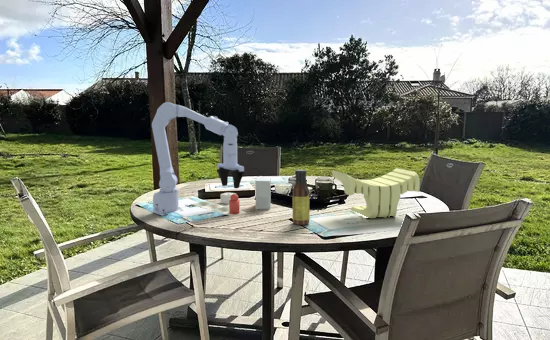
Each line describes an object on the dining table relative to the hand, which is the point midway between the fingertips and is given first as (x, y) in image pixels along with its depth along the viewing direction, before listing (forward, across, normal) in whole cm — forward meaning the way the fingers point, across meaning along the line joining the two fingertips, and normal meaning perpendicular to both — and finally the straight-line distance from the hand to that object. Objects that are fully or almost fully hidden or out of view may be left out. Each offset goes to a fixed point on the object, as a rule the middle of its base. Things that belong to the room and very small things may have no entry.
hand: (230, 186), depth 153 cm
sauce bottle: (+10, -33, -6) cm, 35 cm away
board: (+10, +3, +4) cm, 11 cm away
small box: (+10, -8, -11) cm, 17 cm away
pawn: (+9, -7, +4) cm, 12 cm away
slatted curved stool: (+10, -46, -36) cm, 60 cm away
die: (+10, +9, -6) cm, 15 cm away
